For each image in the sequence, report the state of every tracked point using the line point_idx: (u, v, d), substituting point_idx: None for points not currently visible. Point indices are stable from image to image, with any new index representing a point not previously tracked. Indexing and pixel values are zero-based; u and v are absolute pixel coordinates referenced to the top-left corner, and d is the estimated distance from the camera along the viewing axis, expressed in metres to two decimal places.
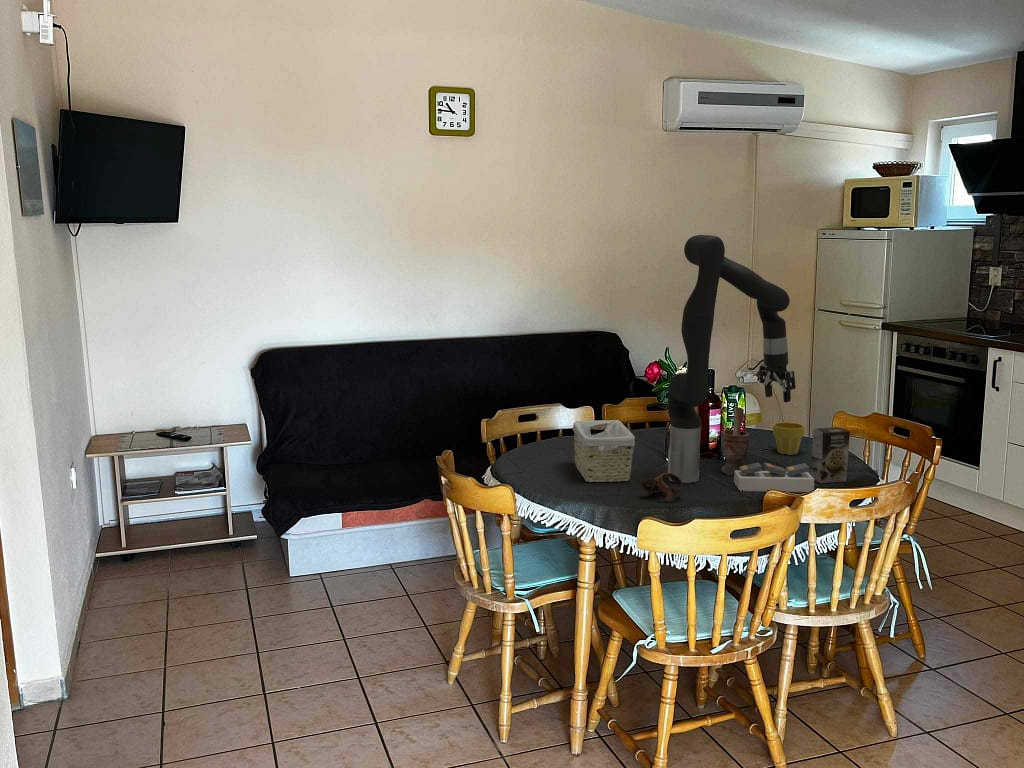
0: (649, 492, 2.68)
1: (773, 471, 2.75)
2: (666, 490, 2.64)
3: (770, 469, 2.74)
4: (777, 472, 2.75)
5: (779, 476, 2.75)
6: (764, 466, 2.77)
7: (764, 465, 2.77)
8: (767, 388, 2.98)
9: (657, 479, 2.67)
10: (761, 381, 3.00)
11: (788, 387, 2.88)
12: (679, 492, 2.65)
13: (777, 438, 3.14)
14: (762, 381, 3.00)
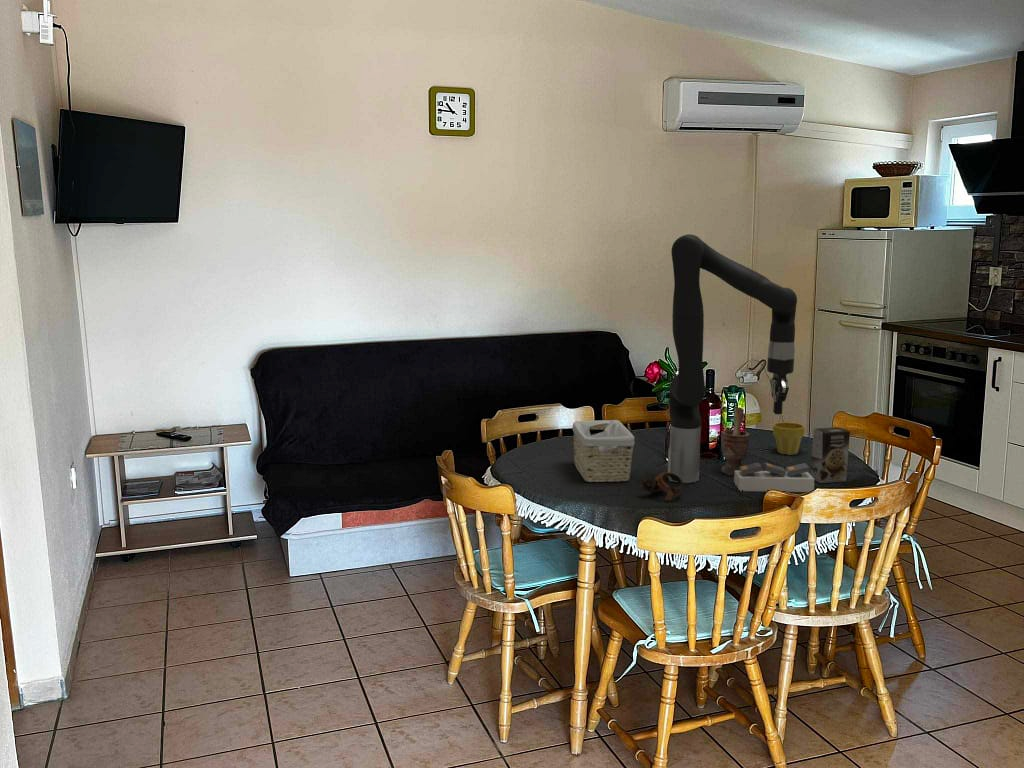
0: (649, 491, 2.68)
1: (773, 471, 2.75)
2: (666, 489, 2.64)
3: (770, 469, 2.74)
4: (777, 472, 2.75)
5: (779, 476, 2.75)
6: (764, 466, 2.77)
7: (764, 465, 2.77)
8: None
9: (657, 478, 2.67)
10: (772, 395, 2.75)
11: (776, 397, 2.69)
12: (679, 491, 2.66)
13: (777, 438, 3.14)
14: None
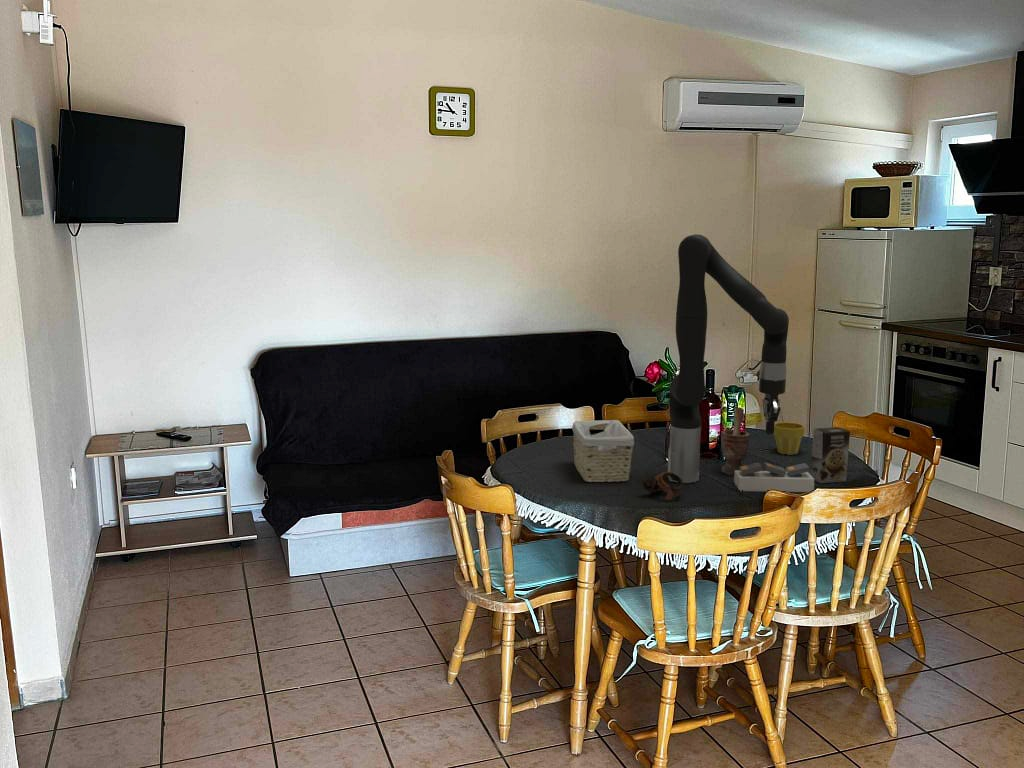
0: (649, 491, 2.68)
1: (773, 471, 2.75)
2: (666, 489, 2.65)
3: (770, 469, 2.74)
4: (777, 472, 2.75)
5: (779, 476, 2.75)
6: (764, 466, 2.77)
7: (764, 465, 2.77)
8: None
9: (657, 478, 2.67)
10: (764, 415, 2.76)
11: (768, 417, 2.71)
12: (679, 491, 2.66)
13: (777, 438, 3.14)
14: None
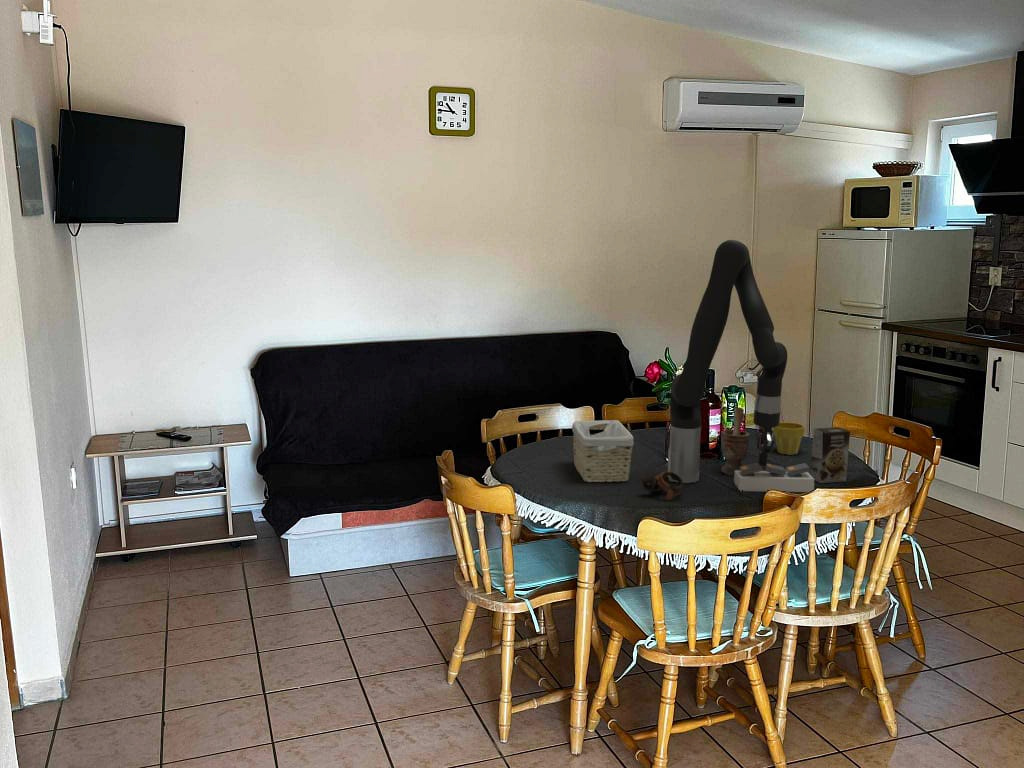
0: (649, 491, 2.69)
1: (773, 471, 2.75)
2: (667, 489, 2.65)
3: (770, 470, 2.75)
4: (777, 472, 2.75)
5: (779, 476, 2.75)
6: (764, 467, 2.77)
7: (764, 466, 2.77)
8: None
9: (657, 478, 2.68)
10: (758, 446, 2.78)
11: (761, 449, 2.73)
12: (679, 490, 2.67)
13: (777, 438, 3.14)
14: None
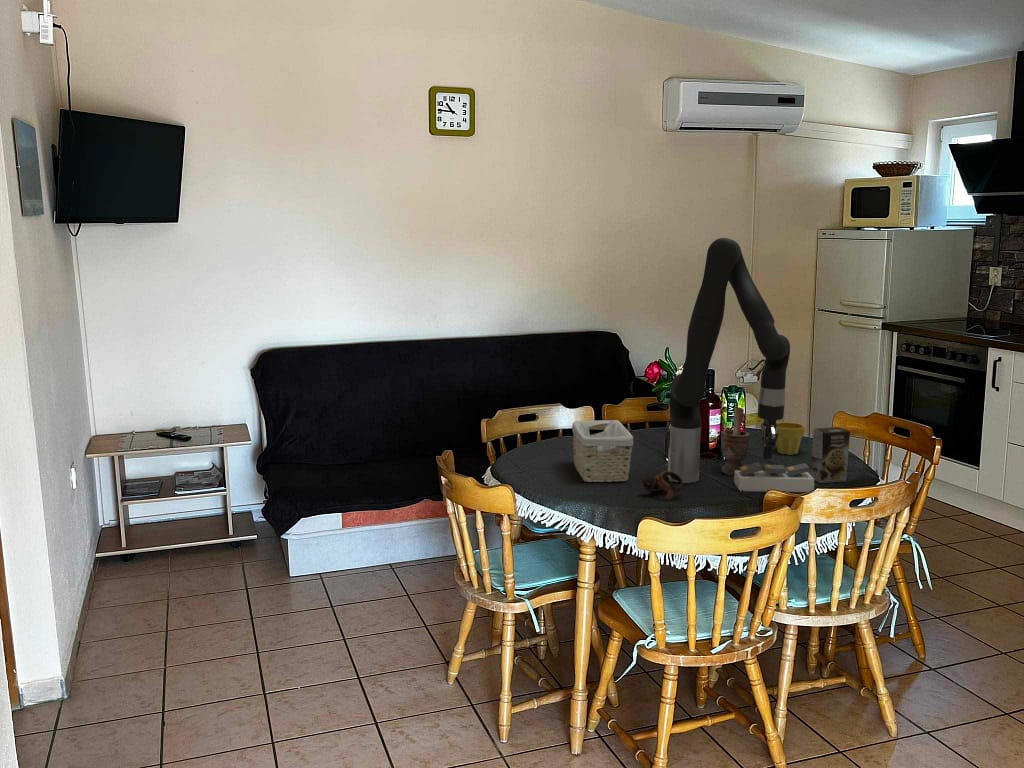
0: (650, 490, 2.69)
1: (773, 472, 2.75)
2: (667, 488, 2.65)
3: (770, 471, 2.75)
4: (777, 472, 2.75)
5: (779, 476, 2.75)
6: (764, 468, 2.77)
7: (763, 467, 2.77)
8: None
9: (657, 477, 2.68)
10: (763, 440, 2.77)
11: (766, 443, 2.72)
12: (679, 490, 2.67)
13: (777, 438, 3.14)
14: (763, 440, 2.77)
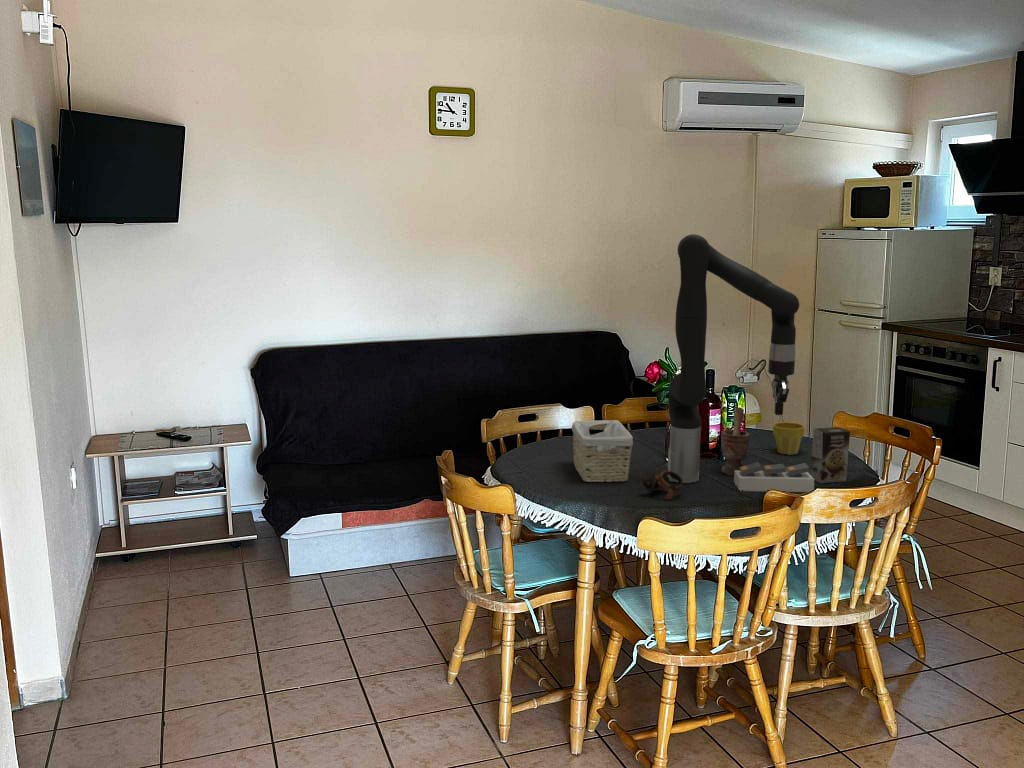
0: (650, 490, 2.69)
1: (773, 472, 2.75)
2: (667, 488, 2.66)
3: (770, 471, 2.75)
4: (777, 471, 2.75)
5: (779, 476, 2.75)
6: (764, 470, 2.77)
7: (763, 469, 2.77)
8: None
9: (658, 477, 2.69)
10: (774, 396, 2.80)
11: (777, 398, 2.75)
12: (679, 490, 2.67)
13: (777, 438, 3.14)
14: None
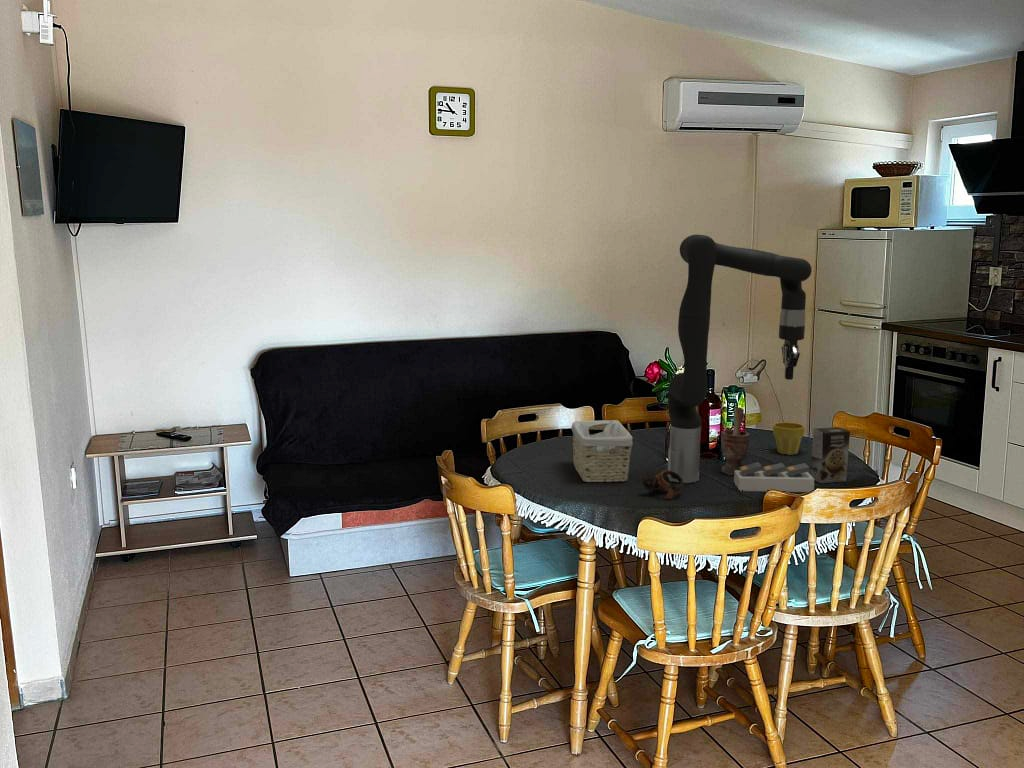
0: (650, 490, 2.70)
1: (773, 472, 2.75)
2: (667, 487, 2.66)
3: (770, 472, 2.75)
4: (777, 471, 2.74)
5: (779, 476, 2.75)
6: (764, 471, 2.77)
7: (763, 470, 2.77)
8: None
9: (658, 477, 2.69)
10: (784, 361, 2.85)
11: (788, 363, 2.80)
12: (680, 489, 2.68)
13: (777, 438, 3.14)
14: (784, 361, 2.85)
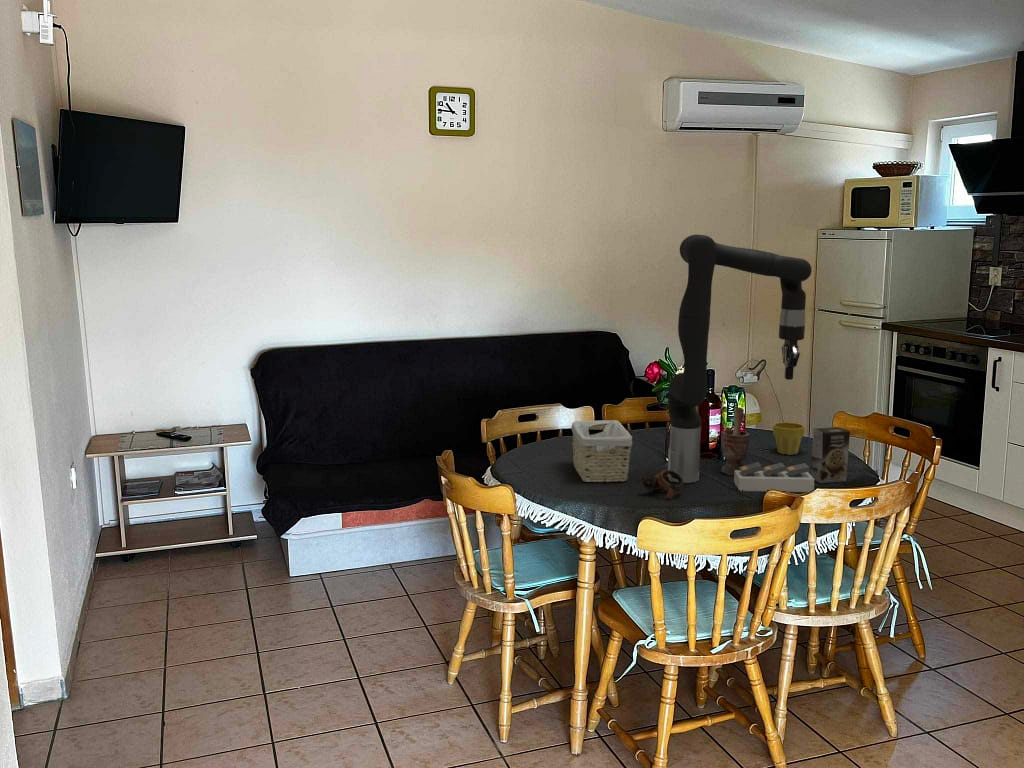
0: (650, 489, 2.70)
1: (773, 472, 2.75)
2: (667, 487, 2.66)
3: (770, 472, 2.75)
4: (778, 471, 2.74)
5: (779, 476, 2.75)
6: (764, 471, 2.77)
7: (763, 470, 2.77)
8: None
9: (658, 476, 2.69)
10: (784, 361, 2.86)
11: (788, 363, 2.80)
12: (680, 489, 2.68)
13: (777, 438, 3.14)
14: (784, 361, 2.85)
